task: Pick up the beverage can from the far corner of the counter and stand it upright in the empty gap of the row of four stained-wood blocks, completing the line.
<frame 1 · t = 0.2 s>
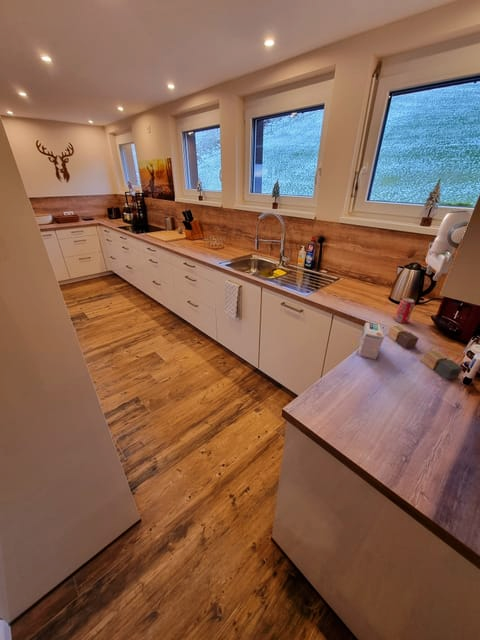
hand: (431, 277, 127), 23 cm above the worktop, tool pointing down, fingers open, 8 cm apart
light bulb box: (367, 351, 110), on the worktop
beverage can: (400, 321, 136), on the worktop
block row: (418, 354, 109), on the worktop
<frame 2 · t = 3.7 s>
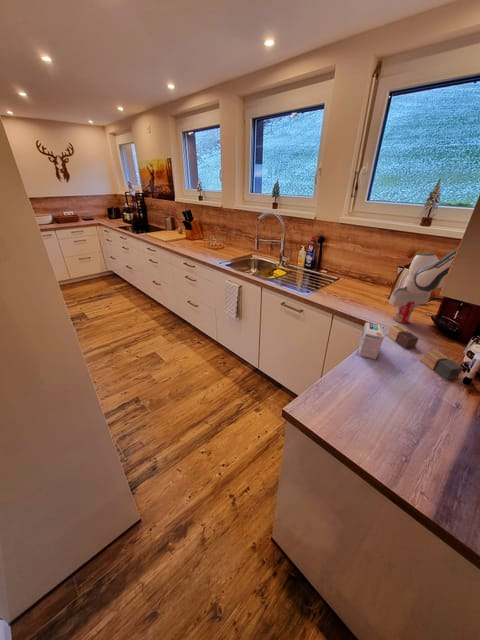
hand: (404, 312, 133), 5 cm above the worktop, tool pointing down, fingers closed on beverage can, 6 cm apart
beverage can: (400, 321, 136), on the worktop, touching gripper
everything else where it was.
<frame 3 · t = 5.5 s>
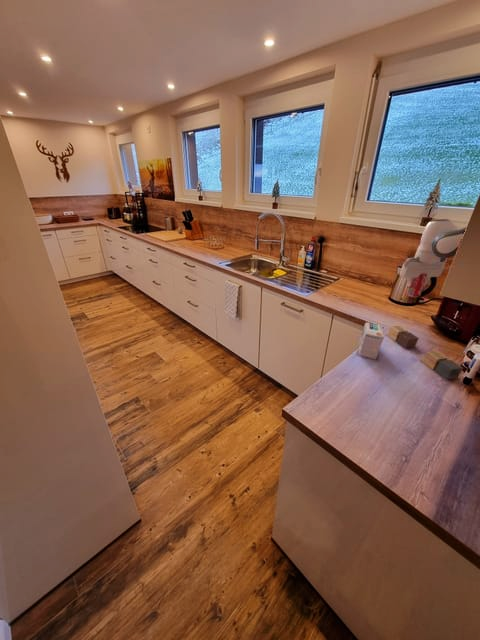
hand: (415, 285, 125), 20 cm above the worktop, tool pointing down, fingers closed on beverage can, 6 cm apart
beverage can: (411, 296, 128), point 15 cm above the worktop, touching gripper
everything else where it was.
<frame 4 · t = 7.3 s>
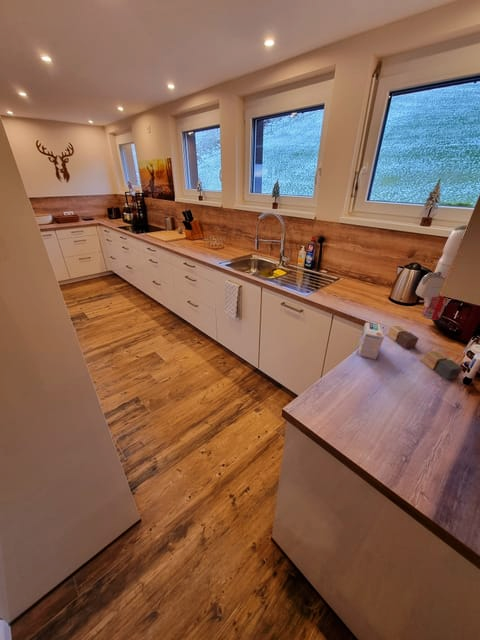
hand: (435, 305, 103), 21 cm above the worktop, tool pointing down, fingers closed on beverage can, 6 cm apart
beverage can: (429, 317, 105), point 16 cm above the worktop, touching gripper
everything else where it was.
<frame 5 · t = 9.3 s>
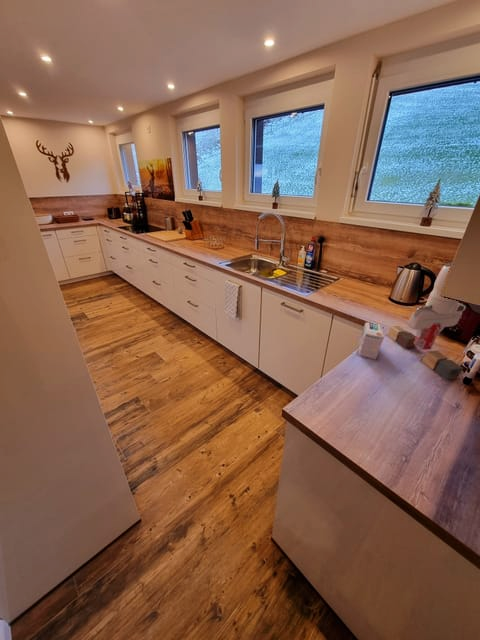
hand: (426, 336, 105), 9 cm above the worktop, tool pointing down, fingers closed on beverage can, 6 cm apart
beverage can: (421, 347, 107), point 4 cm above the worktop, touching gripper
everything else where it was.
when the fingers open (5 cm above the worktop, at t = 11.0 s): beverage can stays where it is, on the worktop.
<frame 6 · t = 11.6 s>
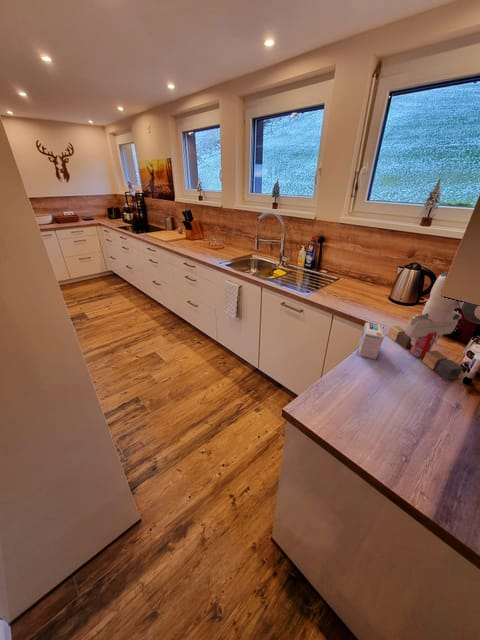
hand: (423, 343, 107), 6 cm above the worktop, tool pointing down, fingers open, 8 cm apart
beverage can: (417, 355, 109), on the worktop
everything else where it was.
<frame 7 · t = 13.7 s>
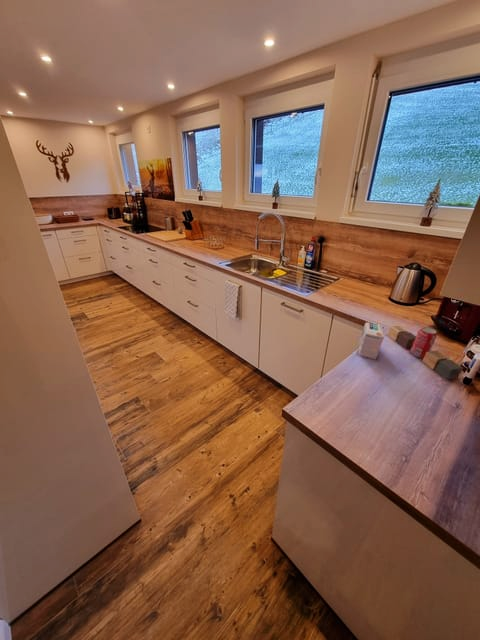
hand: (465, 300, 94), 26 cm above the worktop, tool pointing down, fingers open, 8 cm apart
nothing on the worktop moved.
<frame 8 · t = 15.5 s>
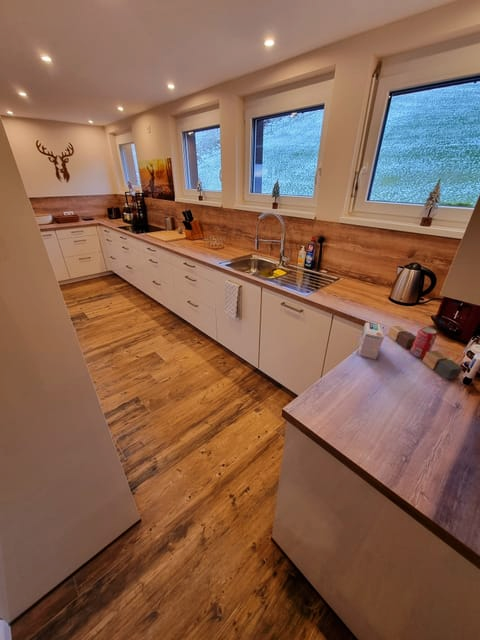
nothing on the worktop moved.
at the end: beverage can 0.1 cm off-centre on the block row, point 0.0 cm above the block row's base; beverage can tilted 0°; the gripper is holding nothing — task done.
